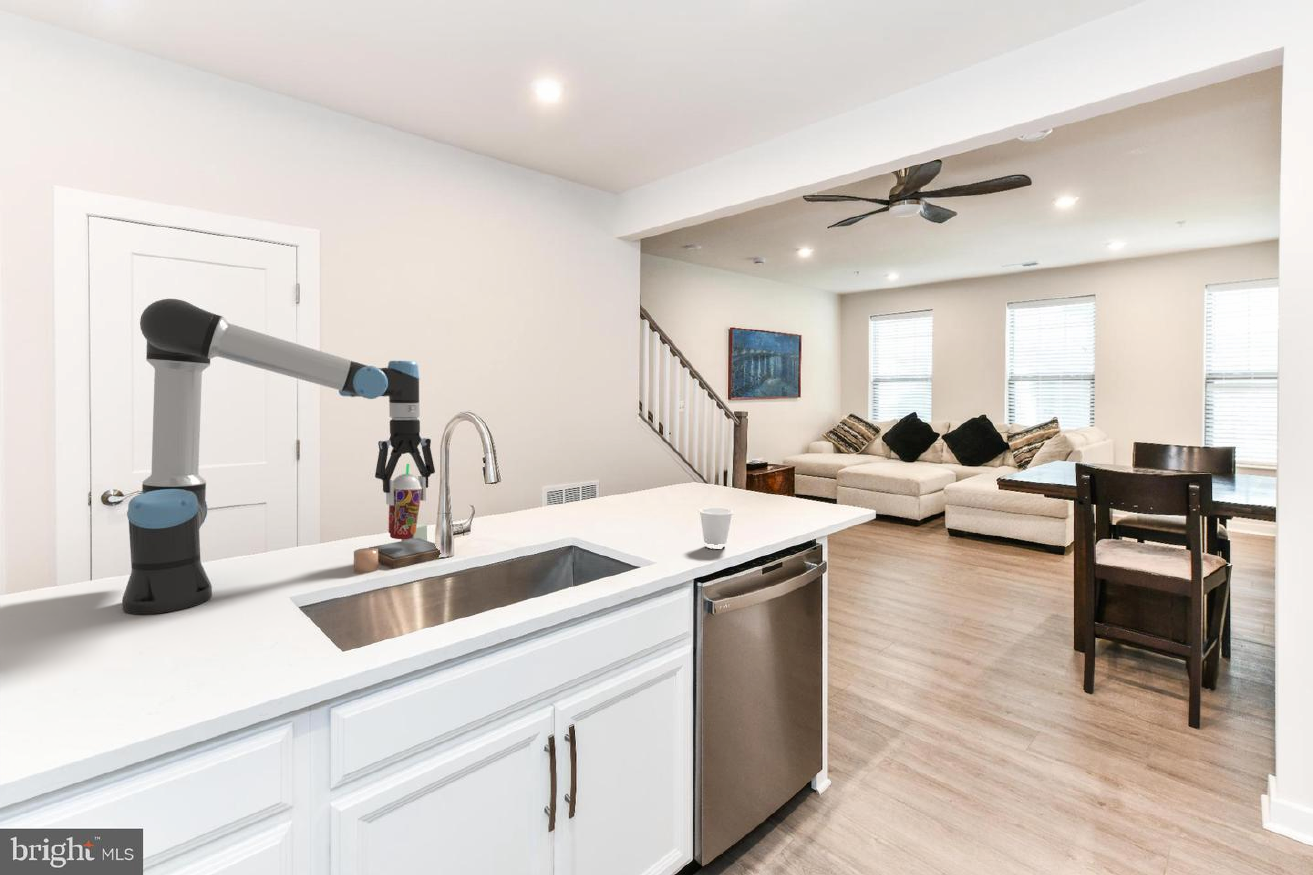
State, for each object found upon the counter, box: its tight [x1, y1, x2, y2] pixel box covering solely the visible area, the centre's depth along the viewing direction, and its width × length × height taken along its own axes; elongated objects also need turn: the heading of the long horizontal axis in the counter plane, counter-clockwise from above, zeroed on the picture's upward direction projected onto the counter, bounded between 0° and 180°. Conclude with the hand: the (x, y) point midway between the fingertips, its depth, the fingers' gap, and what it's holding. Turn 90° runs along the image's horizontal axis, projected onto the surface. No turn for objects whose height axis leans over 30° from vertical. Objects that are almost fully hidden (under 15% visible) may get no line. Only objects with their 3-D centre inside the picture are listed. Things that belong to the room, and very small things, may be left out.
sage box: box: [401, 523, 428, 541], centre depth 187 cm, size 5×5×5 cm
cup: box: [698, 507, 734, 545], centre depth 186 cm, size 10×10×11 cm
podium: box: [368, 538, 441, 570], centre depth 172 cm, size 16×16×3 cm
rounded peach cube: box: [353, 547, 379, 574], centre depth 159 cm, size 6×6×5 cm
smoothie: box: [388, 463, 422, 540], centre depth 170 cm, size 8×8×20 cm
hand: (406, 502), depth 171 cm, fingers closed on smoothie, 8 cm apart
